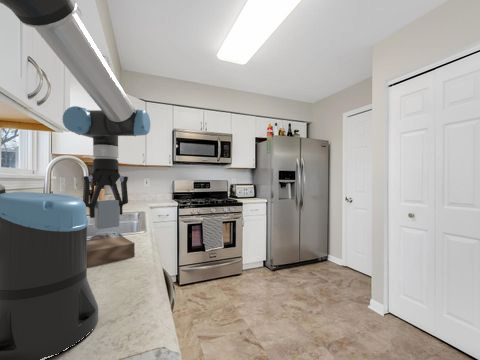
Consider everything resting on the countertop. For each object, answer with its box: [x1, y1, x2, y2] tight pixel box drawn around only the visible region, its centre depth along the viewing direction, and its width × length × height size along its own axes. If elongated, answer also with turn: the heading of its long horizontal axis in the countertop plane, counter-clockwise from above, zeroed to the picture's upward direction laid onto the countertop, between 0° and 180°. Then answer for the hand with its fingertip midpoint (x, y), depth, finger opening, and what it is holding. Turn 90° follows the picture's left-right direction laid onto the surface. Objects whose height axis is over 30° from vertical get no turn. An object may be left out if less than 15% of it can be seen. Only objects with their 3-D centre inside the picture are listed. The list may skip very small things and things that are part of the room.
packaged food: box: [87, 230, 124, 242], centre depth 95 cm, size 9×12×5 cm
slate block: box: [95, 199, 120, 230], centre depth 78 cm, size 6×6×9 cm
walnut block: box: [87, 235, 136, 268], centre depth 78 cm, size 14×14×5 cm
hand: (106, 225), depth 78 cm, fingers closed on slate block, 6 cm apart
